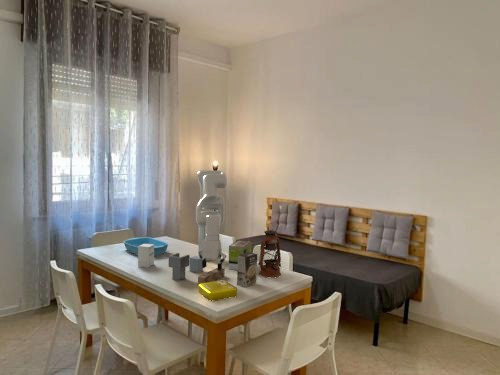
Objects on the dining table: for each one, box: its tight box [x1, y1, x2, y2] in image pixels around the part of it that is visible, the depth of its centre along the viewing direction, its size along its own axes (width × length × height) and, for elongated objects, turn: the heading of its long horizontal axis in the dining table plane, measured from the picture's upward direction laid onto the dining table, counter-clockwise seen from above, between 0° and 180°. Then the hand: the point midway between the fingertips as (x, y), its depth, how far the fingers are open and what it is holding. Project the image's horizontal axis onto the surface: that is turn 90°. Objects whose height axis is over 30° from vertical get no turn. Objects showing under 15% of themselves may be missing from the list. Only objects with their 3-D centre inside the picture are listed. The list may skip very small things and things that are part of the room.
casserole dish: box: [123, 236, 169, 257], centre depth 257 cm, size 37×22×7 cm, turn 45°
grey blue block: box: [189, 255, 204, 274], centre depth 216 cm, size 5×6×8 cm
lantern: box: [257, 222, 282, 279], centre depth 213 cm, size 17×13×30 cm
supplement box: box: [137, 244, 155, 268], centre depth 224 cm, size 7×7×13 cm
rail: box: [197, 267, 226, 287], centre depth 200 cm, size 20×4×5 cm, turn 152°
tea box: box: [228, 240, 252, 271], centre depth 227 cm, size 15×10×15 cm
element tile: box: [198, 279, 238, 302], centre depth 181 cm, size 15×15×5 cm
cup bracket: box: [168, 252, 191, 281], centre depth 201 cm, size 8×8×13 cm
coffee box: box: [236, 252, 258, 288], centre depth 196 cm, size 9×6×16 cm
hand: (211, 268), depth 199 cm, fingers open, 9 cm apart
